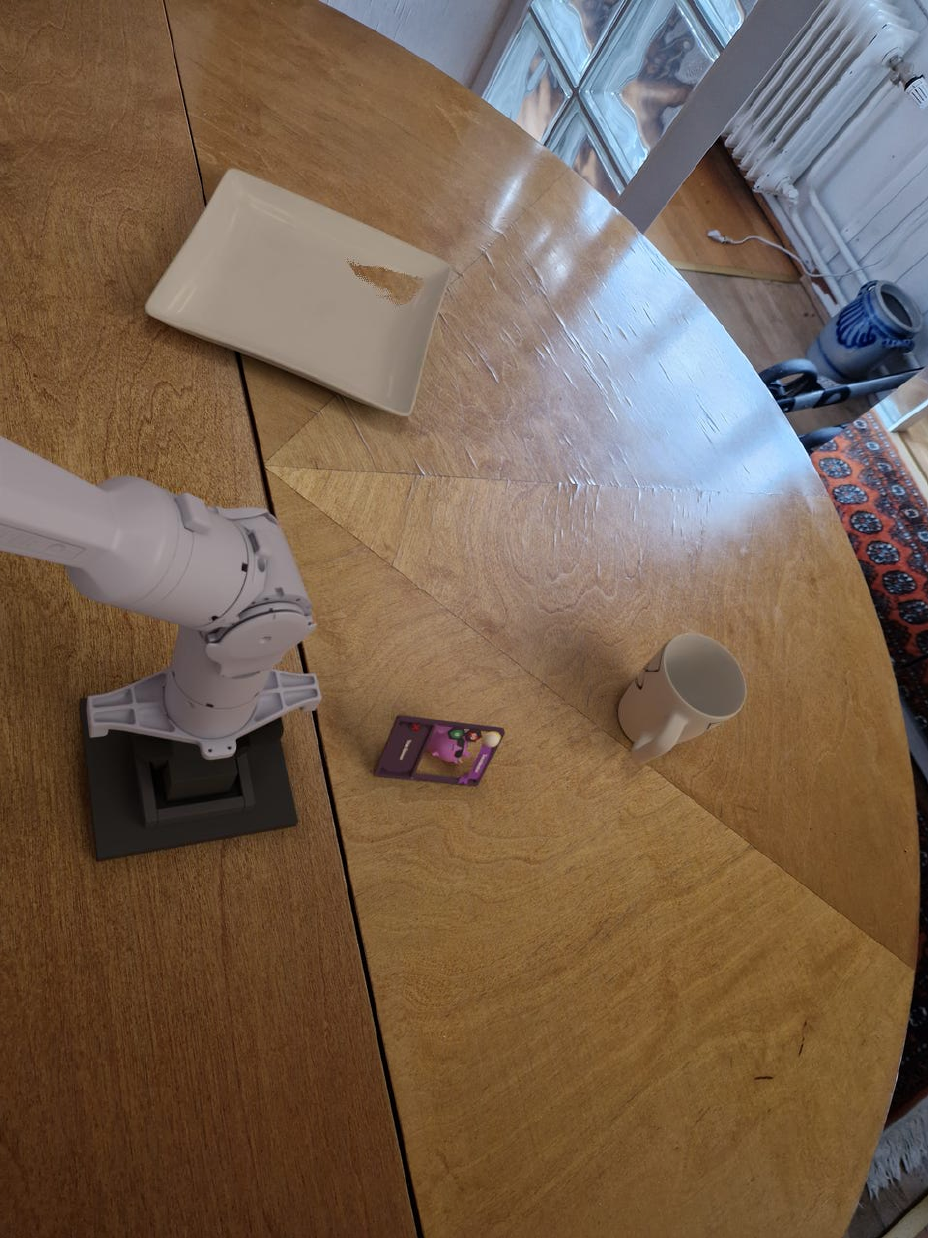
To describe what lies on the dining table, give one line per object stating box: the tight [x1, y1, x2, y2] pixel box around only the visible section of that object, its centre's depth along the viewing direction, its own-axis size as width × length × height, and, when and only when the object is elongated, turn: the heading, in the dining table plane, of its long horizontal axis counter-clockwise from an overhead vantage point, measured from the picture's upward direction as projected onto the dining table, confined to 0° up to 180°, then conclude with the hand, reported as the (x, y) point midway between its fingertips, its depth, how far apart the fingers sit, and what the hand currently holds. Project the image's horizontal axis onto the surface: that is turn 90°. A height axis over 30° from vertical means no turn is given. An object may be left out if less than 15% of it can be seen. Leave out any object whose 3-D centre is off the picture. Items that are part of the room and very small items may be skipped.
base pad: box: [78, 697, 299, 862], centre depth 66 cm, size 14×12×2 cm
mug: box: [617, 631, 747, 765], centre depth 80 cm, size 11×8×10 cm
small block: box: [161, 740, 237, 802], centre depth 64 cm, size 4×6×4 cm
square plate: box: [144, 167, 453, 417], centre depth 95 cm, size 27×27×4 cm
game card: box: [374, 714, 506, 787], centre depth 73 cm, size 7×5×9 cm
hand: (193, 751), depth 65 cm, fingers closed on small block, 4 cm apart
